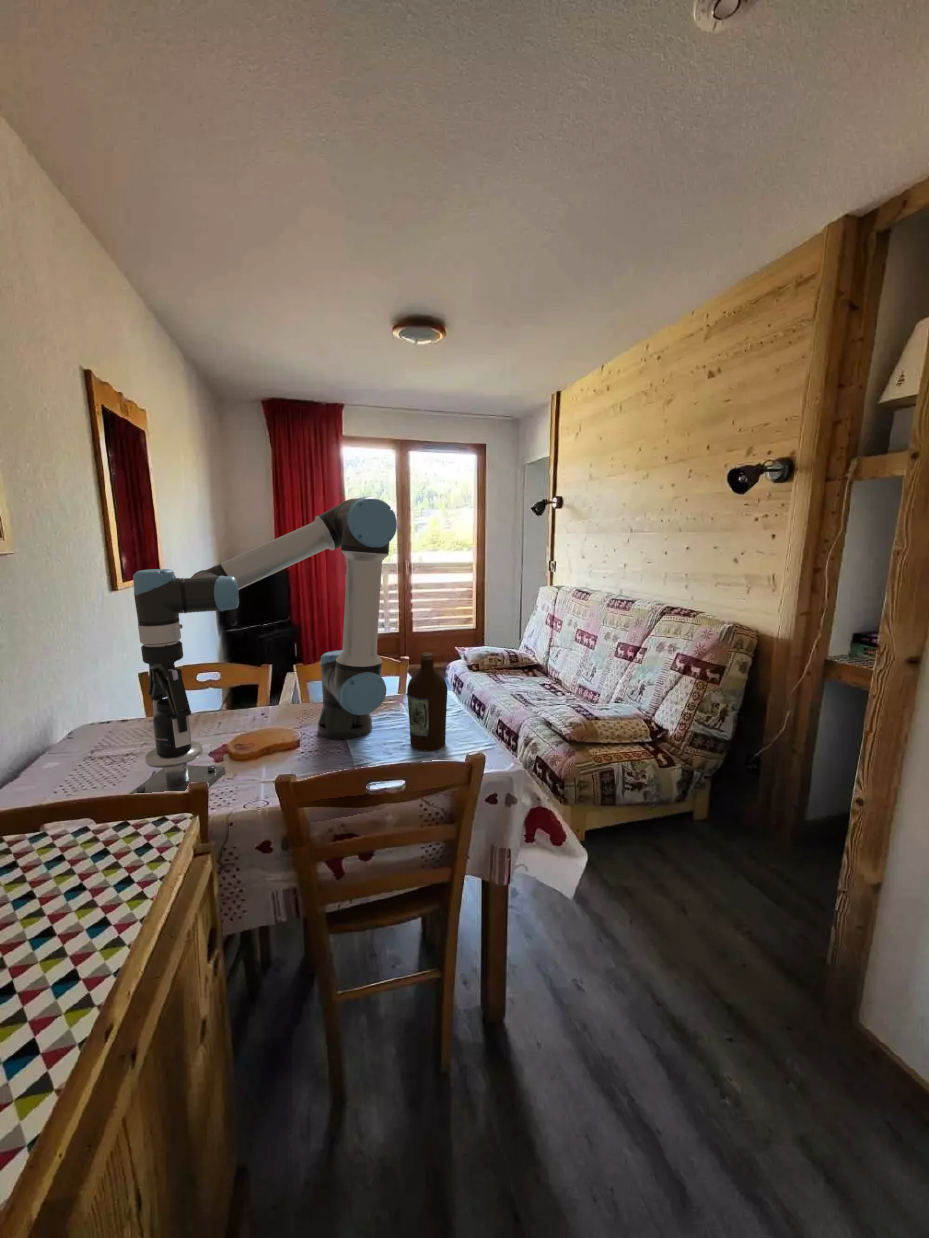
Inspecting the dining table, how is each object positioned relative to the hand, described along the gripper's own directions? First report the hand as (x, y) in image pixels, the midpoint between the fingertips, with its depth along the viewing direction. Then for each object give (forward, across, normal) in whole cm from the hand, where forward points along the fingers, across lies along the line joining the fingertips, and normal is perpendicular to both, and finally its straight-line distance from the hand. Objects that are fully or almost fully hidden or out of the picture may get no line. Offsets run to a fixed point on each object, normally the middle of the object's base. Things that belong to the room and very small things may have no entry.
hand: (172, 735), depth 111 cm
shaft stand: (+12, 0, 0) cm, 12 cm away
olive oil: (+12, -24, -54) cm, 60 cm away
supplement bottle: (+4, 0, 0) cm, 4 cm away
